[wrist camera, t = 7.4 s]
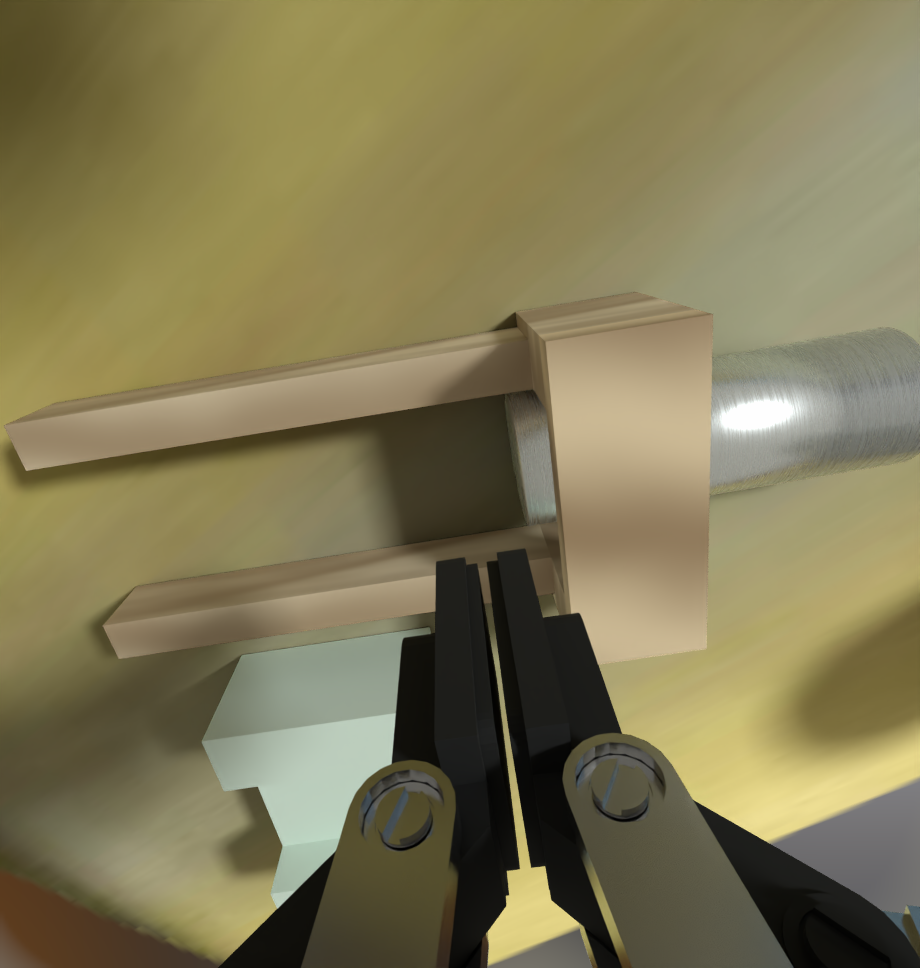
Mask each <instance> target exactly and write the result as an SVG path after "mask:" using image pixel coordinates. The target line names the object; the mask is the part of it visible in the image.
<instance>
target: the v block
mask: <svg viewBox="0 0 920 968" xmlns="http://www.w3.org/2000/svg"><path fill="white" fill-rule="evenodd" d="M426 634H431V631H430V627H426V628H420V629H413V630H406V631H400V632H393V633H386V634H380V635H373V636H366V637H360V638H353V639H346V640H340V641H333V642H326V643H320V644H313V645H306V646H300V647H293V648H286V649H280V650H273V651H266V652H260V653H253V654H246V655H241V658H240V660H239V662H238V664H237V666H236V668H235V671H234V673H233V675H232V677H231V679H230V681H229V683H228V686H227V688H226V690H225V692H224V694H223V696H222V698H221V701H220V703H219V705H218V707H217V709H216V711H215V714H214V716H213V718H212V720H211V722H210V724H209V726H208V729H207V731H206V733H205V735H204V737H203V739H202V741H201V742H202V744H203V746H204V748H205V750H206V753H207V755H208V757H209V759H210V761H211V764H212V766H213V768H214V770H215V772H216V775H217V777H218V779H219V781H220V783H221V786H222V788H223V790H224V791H230V790H237V789H244V788H251V787H258V788H259V791H260V793H261V795H262V798H263V800H264V803H265V805H266V807H267V810H268V812H269V815H270V817H271V819H272V822H273V824H274V826H275V829H276V831H277V834H278V836H279V838H280V841H281V843H282V846H283V847H282V851H281V855H280V859H279V863H278V867H277V871H276V875H275V879H274V883H273V887H272V891H271V896H272V898H273V900H274V902H275V905H276V907H277V909H278V908H279V907H280V906H281V905H282V904H283V903H284V902H285V901H286V900H287V899H288V898H289V897H290V896H291V895H292V894H293V893H294V892H295V891H296V890H297V889H298V888H299V887H300V886H301V885H302V884H303V883H304V882H305V881H306V880H307V879H308V878H309V877H310V876H311V875H312V874H313V873H314V872H315V871H316V870H317V869H318V868H319V867H320V866H321V865H322V864H323V863H324V862H325V861H326V860H327V859H328V858H329V857H330V856H331V855H332V854H333V853H334V852H335V851H336V849H337V846H338V842H339V839H340V836H341V832H342V829H343V826H344V822H345V819H346V816H347V812H348V809H349V806H350V804H351V802H352V800H353V798H354V795H355V793H356V792H357V790H358V789H359V788H360V787H361V786H362V784H363V783H364V782H365V781H366V779H367V778H369V777H370V776H371V775H373V774H374V773H376V772H377V771H378V770H380V769H381V768H383V767H386V766H388V765H391V764H392V752H393V740H394V728H395V716H396V704H397V693H398V681H399V669H400V657H401V646H402V640H403V638H405V637H412V636H419V635H426Z"/></svg>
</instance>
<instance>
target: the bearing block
mask: <svg viewBox="0 0 920 968" xmlns="http://www.w3.org/2000/svg"><path fill="white" fill-rule="evenodd" d="M516 321H517V327H515V328H509V329H503V330H497V331H491V332H485V333H479V334H473V335H467V336H461V337H454V338H448V339H442V340H436V341H430V342H424V343H418V344H412V345H406V346H400V347H394V348H387V349H381V350H375V351H369V352H363V353H357V354H351V355H345V356H339V357H333V358H327V359H321V360H314V361H308V362H302V363H296V364H290V365H284V366H278V367H272V368H266V369H260V370H254V371H248V372H241V373H235V374H229V375H223V376H217V377H211V378H205V379H199V380H193V381H187V382H181V383H174V384H168V385H162V386H156V387H150V388H144V389H138V390H132V391H126V392H120V393H114V394H108V395H101V396H95V397H89V398H83V399H77V400H71V401H65V402H59V403H54V404H51V405H49V406H47V407H44V408H42V409H40V410H38V411H35V412H33V413H31V414H29V415H26V416H24V417H22V418H20V419H17V420H15V421H13V422H10V423H8V424H6V425H4V427H5V429H6V431H7V433H8V435H9V437H10V439H11V441H12V443H13V445H14V447H15V449H16V451H17V453H18V455H19V457H20V459H21V461H22V464H23V466H24V468H25V470H26V471H28V470H34V469H40V468H47V467H53V466H59V465H65V464H71V463H78V462H84V461H90V460H96V459H102V458H109V457H115V456H121V455H127V454H134V453H140V452H146V451H152V450H158V449H165V448H171V447H177V446H183V445H189V444H196V443H202V442H208V441H214V440H220V439H227V438H233V437H239V436H245V435H251V434H258V433H264V432H270V431H276V430H282V429H289V428H295V427H301V426H307V425H314V424H320V423H326V422H332V421H338V420H345V419H351V418H357V417H363V416H369V415H376V414H382V413H388V412H394V411H400V410H407V409H413V408H419V407H425V406H431V405H438V404H444V403H450V402H456V401H462V400H469V399H475V398H481V397H487V396H493V395H500V394H506V393H512V392H518V391H525V390H531V389H533V390H534V391H535V393H536V394H537V396H538V398H539V399H540V401H541V402H542V404H543V406H544V407H545V409H546V413H547V423H548V433H549V443H550V453H551V463H552V474H553V484H554V494H555V504H556V514H557V522H551V523H545V524H539V525H533V526H524V527H517V528H511V529H504V530H498V531H491V532H485V533H479V534H472V535H466V536H459V537H453V538H446V539H440V540H433V541H427V542H420V543H414V544H407V545H401V546H394V547H388V548H381V549H375V550H368V551H362V552H355V553H349V554H343V555H336V556H330V557H323V558H317V559H310V560H304V561H297V562H291V563H284V564H278V565H271V566H265V567H258V568H252V569H245V570H239V571H232V572H226V573H219V574H213V575H207V576H200V577H194V578H187V579H181V580H174V581H168V582H161V583H155V584H148V585H142V586H136V587H135V588H134V590H133V591H132V592H131V593H130V594H129V595H128V597H127V598H126V599H125V600H124V601H123V603H122V604H121V605H120V606H119V607H118V608H117V610H116V611H115V612H114V613H113V614H112V615H111V617H110V618H109V619H108V620H107V621H106V622H105V624H104V625H103V628H104V630H105V632H106V634H107V636H108V638H109V640H110V642H111V644H112V646H113V648H114V650H115V652H116V654H117V656H118V658H119V659H123V658H129V657H136V656H143V655H149V654H156V653H163V652H169V651H176V650H182V649H189V648H196V647H202V646H209V645H216V644H222V643H229V642H235V641H242V640H249V639H255V638H262V637H269V636H275V635H282V634H288V633H295V632H302V631H308V630H315V629H322V628H328V627H335V626H342V625H348V624H355V623H361V622H368V621H375V620H381V619H388V618H395V617H401V616H408V615H414V614H421V613H428V612H434V611H435V599H436V561H442V560H448V559H455V558H462V557H465V559H466V564H467V565H468V564H474V563H477V564H478V570H479V576H480V582H481V588H482V594H483V599H484V604H487V603H492V601H491V593H490V586H489V578H488V570H487V563H486V562H488V561H495V560H498V559H497V552H503V551H509V550H516V549H523V548H525V549H526V552H527V556H528V560H529V564H530V568H531V572H532V576H533V580H534V585H535V589H536V593H537V596H540V595H547V594H553V596H554V600H555V603H556V606H557V609H558V612H559V615H566V614H572V613H580V615H581V617H582V619H583V622H584V625H585V628H586V631H587V634H588V636H589V639H590V642H591V645H592V648H593V651H594V654H595V657H596V660H597V663H598V665H600V664H607V663H613V662H620V661H627V660H634V659H641V658H647V657H654V656H661V655H668V654H675V653H681V652H688V651H695V650H702V649H706V648H707V597H708V546H709V495H710V445H711V394H712V343H713V314H710V313H706V312H703V311H700V310H696V309H693V308H689V307H686V306H682V305H679V304H675V303H672V302H669V301H665V300H662V299H658V298H655V297H651V296H648V295H645V294H641V293H638V292H633V293H627V294H621V295H615V296H609V297H603V298H597V299H590V300H584V301H578V302H572V303H566V304H560V305H554V306H548V307H542V308H536V309H530V310H524V311H518V312H516Z"/></svg>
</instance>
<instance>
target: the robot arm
mask: <svg viewBox="0 0 920 968" xmlns="http://www.w3.org/2000/svg"><path fill="white" fill-rule="evenodd" d="M497 559H498V560H495V561H488V562H486V563H487V570H488V578H489V586H490V593H491V601H492V608H493V616H494V623H495V631H496V639H497V646H498V654H499V661H500V669H501V677H502V684H503V692H504V699H505V707H506V714H507V721H508V728H509V735H510V742H511V748H512V754H513V760H514V766H515V772H516V778H517V784H518V790H519V796H520V803H521V809H522V815H523V821H524V827H525V833H526V839H527V845H528V851H529V857H530V863H531V868H533V867H541V866H545V867H546V873H547V879H548V885H549V890H550V895H551V900H552V901H553V902H554V903H556V904H557V905H558V906H559V907H560V908H562V909H563V910H564V911H565V912H567V913H568V914H569V915H570V916H571V917H573V918H574V919H575V920H576V921H578V922H579V925H580V930H581V935H582V938H583V941H584V944H585V947H586V950H587V953H588V956H589V959H590V962H591V965H592V968H920V907H918V906H909V905H907V906H906V909H905V913H897V912H889V911H881V910H880V909H878V908H877V907H876V906H874V905H873V904H871V903H870V902H869V901H867V900H866V899H864V898H863V897H861V896H860V895H858V894H857V893H855V892H853V891H851V890H850V889H848V888H846V887H844V886H843V885H841V884H839V883H837V882H836V881H834V880H832V879H830V878H829V877H827V876H825V875H823V874H822V873H820V872H818V871H816V870H815V869H813V868H811V867H809V866H808V865H806V864H804V863H802V862H801V861H799V860H797V859H795V858H794V857H792V856H790V855H788V854H786V853H785V852H783V851H781V850H780V849H778V848H776V847H774V846H773V845H771V844H769V843H767V842H766V841H764V840H762V839H760V838H759V837H757V836H755V835H753V834H752V833H750V832H748V831H746V830H745V829H743V828H741V827H739V826H738V825H736V824H734V823H732V822H731V821H729V820H727V819H725V818H724V817H722V816H720V815H718V814H717V813H715V812H713V811H711V810H710V809H708V808H706V807H704V806H703V805H701V804H699V803H697V802H696V801H694V800H693V799H692V798H691V796H690V794H689V793H688V791H687V789H686V788H685V786H684V784H683V783H682V781H681V779H680V778H679V776H678V774H677V773H676V771H675V769H674V768H673V766H672V764H671V763H670V762H669V761H668V760H667V758H666V757H665V756H664V755H663V753H662V752H661V751H659V750H658V749H657V748H655V747H654V746H652V745H651V744H650V743H648V742H647V741H644V740H642V739H639V738H637V737H634V736H632V735H627V734H622V732H621V729H620V727H619V724H618V721H617V718H616V715H615V712H614V709H613V706H612V703H611V700H610V697H609V695H608V692H607V689H606V686H605V683H604V680H603V677H602V674H601V671H600V668H599V665H598V663H597V660H596V657H595V654H594V651H593V648H592V645H591V642H590V639H589V636H588V634H587V631H586V628H585V625H584V622H583V619H582V617H581V615H580V613H572V614H566V615H559V616H552V617H545V618H543V617H542V613H541V609H540V605H539V601H538V597H537V593H536V589H535V585H534V580H533V576H532V572H531V568H530V564H529V560H528V556H527V552H526V549H525V548H523V549H516V550H509V551H503V552H497ZM517 869H520V866H519V857H518V848H517V840H516V832H515V824H514V816H513V807H512V799H511V791H510V783H509V774H508V766H507V758H506V750H505V741H504V733H503V725H502V717H501V709H500V700H499V692H498V684H497V677H496V671H495V665H494V659H493V653H492V647H491V641H490V635H489V629H488V623H487V617H486V611H485V605H484V599H483V594H482V588H481V582H480V576H479V570H478V564H477V563H474V564H468V565H467V564H466V559H465V557H462V558H455V559H448V560H442V561H436V599H435V633H433V634H426V635H419V636H412V637H405V638H403V640H402V646H401V657H400V669H399V681H398V693H397V704H396V716H395V728H394V740H393V752H392V764H391V765H388V766H386V767H383V768H381V769H380V770H378V771H377V772H376V773H374V774H373V775H371V776H370V777H369V778H367V779H366V781H365V782H364V783H363V784H362V786H361V787H360V788H359V789H358V790H357V792H356V793H355V795H354V798H353V800H352V802H351V804H350V806H349V809H348V812H347V816H346V819H345V822H344V826H343V829H342V832H341V836H340V839H339V842H338V846H337V849H336V851H335V852H334V853H333V854H332V855H331V856H330V857H329V858H328V859H327V860H326V861H325V862H324V863H323V864H322V865H321V866H320V867H319V868H318V869H317V870H316V871H315V872H314V873H313V874H312V875H311V876H310V877H309V878H308V879H307V880H306V881H305V882H304V883H303V884H302V885H301V886H300V887H299V888H298V889H297V890H296V891H295V892H294V893H293V894H292V895H291V896H290V897H289V898H288V899H287V900H286V901H285V902H284V903H283V904H282V905H281V906H280V907H279V908H278V909H277V910H276V911H275V912H274V913H273V914H272V915H271V916H270V917H269V918H268V919H267V920H266V921H265V922H264V923H263V924H262V925H261V926H260V927H259V928H258V929H257V930H256V931H255V932H254V933H253V934H252V935H251V936H250V937H249V938H248V939H247V940H246V941H245V942H244V943H243V944H242V945H241V946H240V947H239V948H238V949H237V950H236V951H234V952H233V953H232V954H231V955H230V956H229V957H228V958H227V959H226V960H225V961H224V962H223V963H222V964H221V965H220V966H219V967H218V968H487V965H488V949H489V942H488V930H489V929H490V928H491V926H492V925H493V923H494V922H495V921H496V919H497V918H498V917H499V915H500V914H501V912H502V911H503V910H504V908H505V907H506V895H509V890H508V880H507V871H509V870H517Z"/></svg>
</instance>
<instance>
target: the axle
mask: <svg viewBox="0 0 920 968" xmlns="http://www.w3.org/2000/svg"><path fill="white" fill-rule="evenodd" d="M505 412H506V420H507V427H508V434H509V441H510V448H511V455H512V462H513V467H514V473H515V478H516V483H517V488H518V493H519V498H520V502H521V506H522V510H523V514H524V518H525V521H526V524H527V526H533V525H539V524H545V523H551V522H557V514H556V504H555V494H554V484H553V474H552V463H551V453H550V443H549V433H548V423H547V413H546V409H545V407H544V406H543V404H542V402H541V401H540V399H539V398H538V396H537V394H536V393H535V391H534V390H533V389H532V390H526V391H520V392H515V393H509V394H505ZM919 453H920V346H919V344H918V343H917V342H916V341H915V340H914V339H913V338H911V337H910V336H909V335H907V334H906V333H904V332H902V331H900V330H897V329H894V328H889V327H880V328H874V329H868V330H863V331H857V332H852V333H846V334H840V335H835V336H829V337H823V338H818V339H812V340H807V341H801V342H795V343H790V344H784V345H779V346H773V347H767V348H762V349H756V350H751V351H745V352H739V353H734V354H728V355H722V356H717V357H712V394H711V445H710V495H716V494H721V493H727V492H733V491H739V490H745V489H751V488H757V487H763V486H768V485H774V484H780V483H786V482H792V481H798V480H804V479H810V478H815V477H821V476H827V475H833V474H839V473H845V472H851V471H857V470H862V469H868V468H874V467H880V466H886V465H892V464H898V463H902V462H906V461H908V460H910V459H912V458H913V457H915V456H916V455H918V454H919ZM710 495H709V496H710Z"/></svg>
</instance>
